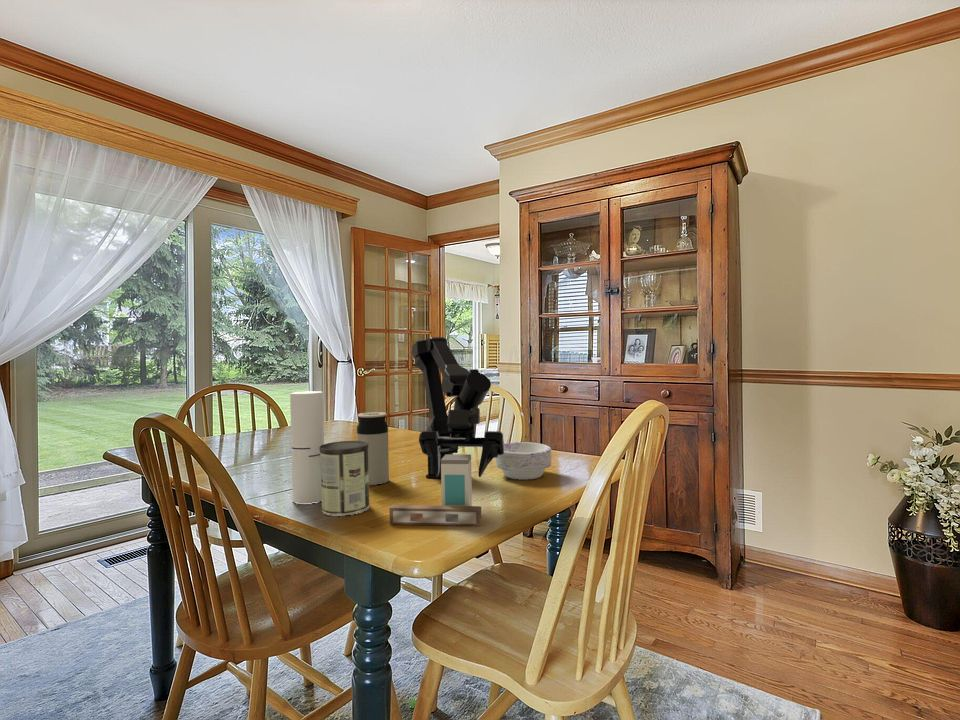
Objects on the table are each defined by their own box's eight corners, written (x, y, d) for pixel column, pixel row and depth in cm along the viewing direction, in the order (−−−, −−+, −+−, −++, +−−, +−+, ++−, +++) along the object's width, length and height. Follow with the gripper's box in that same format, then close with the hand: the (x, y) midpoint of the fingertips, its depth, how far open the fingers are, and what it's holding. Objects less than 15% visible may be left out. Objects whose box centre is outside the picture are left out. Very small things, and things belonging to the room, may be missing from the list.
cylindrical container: (294, 497, 119) (292, 391, 118) (326, 494, 120) (323, 390, 120) (290, 506, 112) (288, 394, 111) (323, 503, 113) (321, 393, 113)
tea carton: (446, 510, 107) (445, 454, 107) (472, 510, 106) (471, 454, 106) (441, 519, 101) (440, 460, 101) (468, 519, 101) (467, 460, 100)
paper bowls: (546, 484, 126) (546, 453, 126) (488, 481, 130) (488, 450, 130) (555, 470, 140) (555, 442, 140) (503, 468, 145) (502, 440, 145)
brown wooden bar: (388, 525, 98) (388, 508, 98) (392, 520, 101) (392, 504, 101) (480, 527, 96) (479, 510, 96) (481, 522, 99) (481, 506, 99)
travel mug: (363, 487, 126) (361, 416, 126) (354, 481, 133) (352, 413, 132) (393, 483, 130) (392, 414, 130) (383, 476, 137) (381, 411, 136)
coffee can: (342, 500, 116) (340, 439, 115) (379, 505, 111) (378, 441, 111) (310, 513, 106) (308, 447, 106) (349, 519, 102) (347, 450, 102)
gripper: (419, 395, 113) (408, 454, 102) (502, 395, 111) (499, 455, 100) (428, 424, 121) (417, 482, 110) (505, 425, 119) (502, 484, 108)
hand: (458, 475), depth 107 cm, fingers open, 9 cm apart
